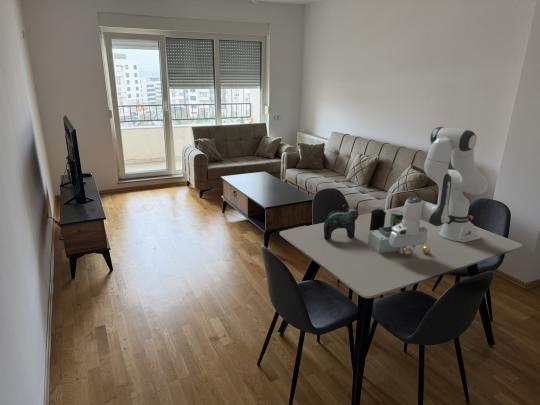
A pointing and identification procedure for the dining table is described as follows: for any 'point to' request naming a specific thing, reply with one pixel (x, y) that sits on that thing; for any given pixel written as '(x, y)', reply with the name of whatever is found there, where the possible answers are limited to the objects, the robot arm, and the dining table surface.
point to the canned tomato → (396, 218)
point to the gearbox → (382, 240)
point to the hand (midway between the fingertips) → (406, 252)
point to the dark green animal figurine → (341, 222)
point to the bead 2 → (426, 250)
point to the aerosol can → (377, 219)
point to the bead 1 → (406, 252)
